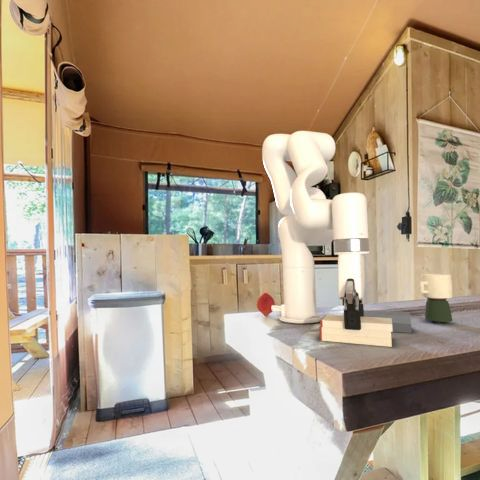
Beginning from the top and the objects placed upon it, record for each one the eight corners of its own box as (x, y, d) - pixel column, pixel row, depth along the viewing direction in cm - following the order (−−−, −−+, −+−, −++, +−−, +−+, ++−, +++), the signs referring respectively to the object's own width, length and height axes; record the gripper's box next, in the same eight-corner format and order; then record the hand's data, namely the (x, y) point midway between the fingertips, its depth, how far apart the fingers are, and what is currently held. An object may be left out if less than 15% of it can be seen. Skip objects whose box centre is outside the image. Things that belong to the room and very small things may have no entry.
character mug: (441, 318, 88) (438, 273, 89) (466, 323, 81) (462, 274, 82) (411, 321, 85) (408, 274, 86) (434, 326, 78) (431, 275, 79)
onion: (275, 314, 101) (274, 290, 102) (275, 317, 96) (274, 291, 96) (257, 314, 102) (256, 290, 103) (257, 317, 96) (256, 292, 97)
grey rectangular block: (351, 329, 78) (351, 313, 78) (353, 324, 83) (353, 309, 83) (411, 333, 72) (410, 315, 72) (409, 328, 77) (408, 312, 77)
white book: (320, 327, 67) (319, 320, 67) (325, 321, 73) (325, 314, 73) (392, 331, 61) (392, 324, 61) (391, 324, 67) (391, 318, 67)
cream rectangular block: (319, 340, 67) (319, 326, 67) (325, 333, 74) (325, 320, 74) (391, 347, 61) (390, 331, 61) (391, 338, 67) (390, 324, 67)
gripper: (339, 249, 78) (342, 317, 77) (327, 247, 63) (331, 332, 62) (370, 248, 75) (374, 319, 74) (366, 246, 60) (371, 335, 58)
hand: (354, 324), depth 68 cm, fingers open, 9 cm apart
